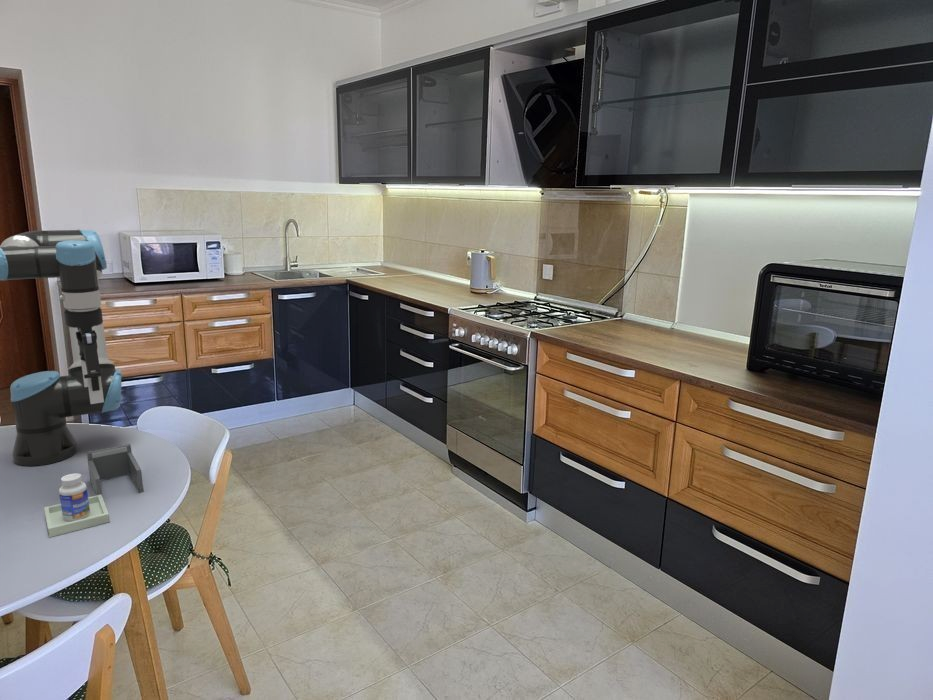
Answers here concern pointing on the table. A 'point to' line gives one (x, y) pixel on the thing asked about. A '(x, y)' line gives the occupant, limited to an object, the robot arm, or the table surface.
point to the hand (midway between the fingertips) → (93, 394)
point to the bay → (113, 466)
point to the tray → (62, 526)
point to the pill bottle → (74, 497)
